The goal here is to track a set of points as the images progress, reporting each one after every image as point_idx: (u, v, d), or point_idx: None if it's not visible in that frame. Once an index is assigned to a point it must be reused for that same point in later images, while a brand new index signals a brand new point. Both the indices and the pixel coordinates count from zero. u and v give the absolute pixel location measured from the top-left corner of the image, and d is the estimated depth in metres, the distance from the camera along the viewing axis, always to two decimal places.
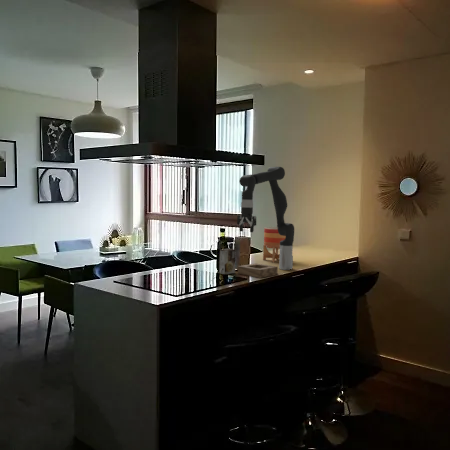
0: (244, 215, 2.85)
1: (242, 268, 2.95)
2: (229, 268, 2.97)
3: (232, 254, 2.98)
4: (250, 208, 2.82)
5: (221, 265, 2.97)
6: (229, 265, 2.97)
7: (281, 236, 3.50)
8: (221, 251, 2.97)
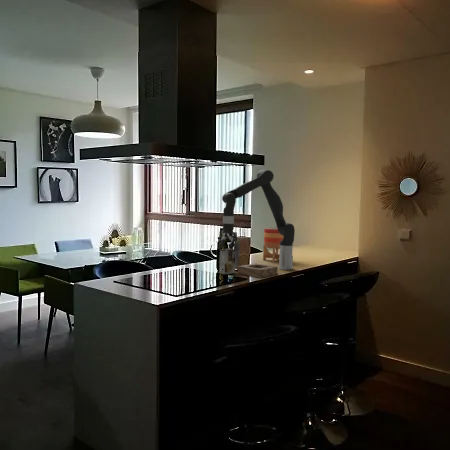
0: (225, 231, 2.98)
1: (242, 268, 2.95)
2: (229, 268, 2.97)
3: (232, 254, 2.98)
4: (231, 224, 2.95)
5: (221, 265, 2.97)
6: (229, 265, 2.97)
7: (281, 236, 3.50)
8: (221, 251, 2.97)
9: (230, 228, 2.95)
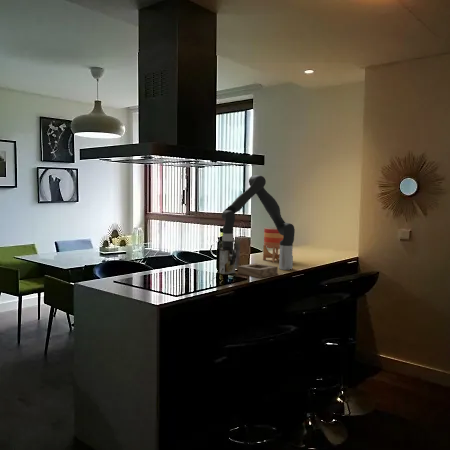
0: (225, 248, 2.99)
1: (242, 268, 2.95)
2: (229, 267, 2.97)
3: None
4: (230, 242, 2.96)
5: (221, 265, 2.97)
6: (229, 265, 2.97)
7: (281, 236, 3.50)
8: (221, 251, 2.97)
9: (230, 245, 2.95)
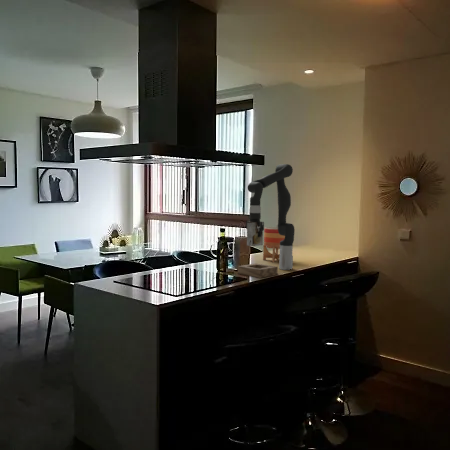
0: (252, 220, 2.97)
1: (242, 268, 2.95)
2: (257, 240, 2.95)
3: (259, 226, 2.95)
4: (258, 213, 2.93)
5: (249, 237, 2.95)
6: (257, 238, 2.95)
7: (281, 236, 3.50)
8: (248, 223, 2.95)
9: (257, 217, 2.93)
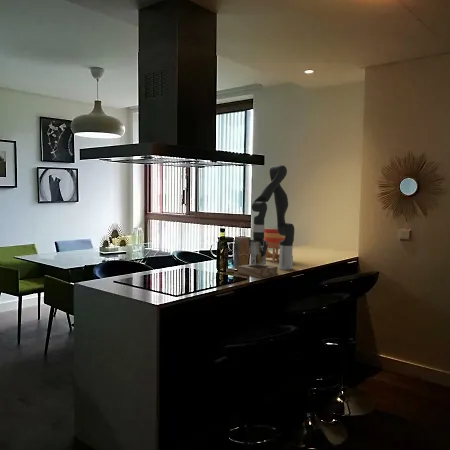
0: (256, 239, 2.97)
1: (242, 268, 2.95)
2: (260, 259, 2.95)
3: (263, 245, 2.96)
4: (262, 233, 2.94)
5: (252, 256, 2.95)
6: (260, 257, 2.95)
7: (281, 236, 3.50)
8: (252, 242, 2.95)
9: (261, 237, 2.94)
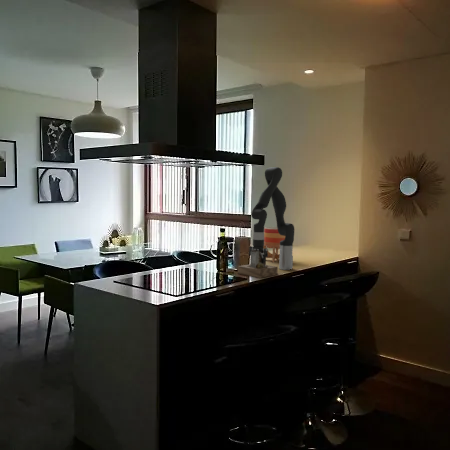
0: (256, 247, 2.97)
1: (242, 268, 2.95)
2: None
3: None
4: (262, 240, 2.94)
5: (252, 266, 2.96)
6: (260, 266, 2.96)
7: (281, 236, 3.50)
8: (252, 252, 2.96)
9: (261, 244, 2.94)
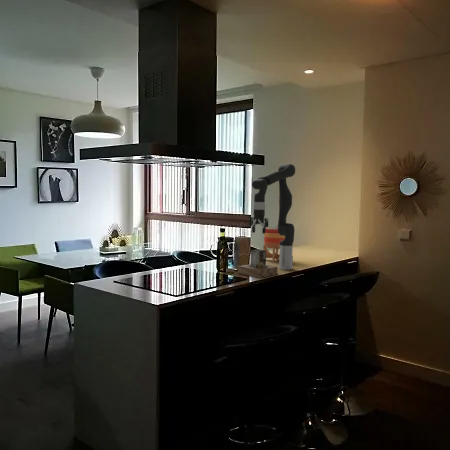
0: (256, 217, 2.96)
1: (242, 268, 2.95)
2: None
3: (262, 255, 2.96)
4: (262, 210, 2.93)
5: (252, 266, 2.96)
6: (260, 266, 2.96)
7: (281, 236, 3.50)
8: (252, 252, 2.96)
9: (261, 214, 2.93)
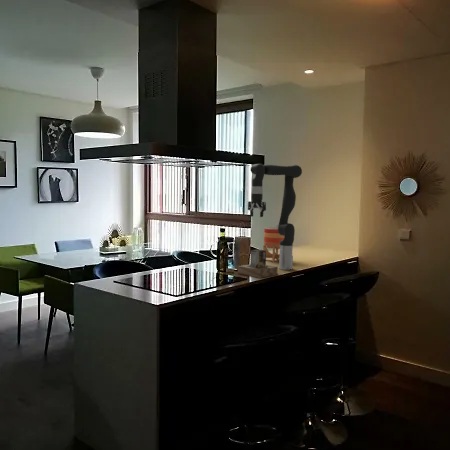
0: (254, 201, 3.04)
1: (242, 268, 2.95)
2: None
3: (262, 255, 2.96)
4: (260, 194, 3.01)
5: (252, 266, 2.96)
6: (260, 266, 2.96)
7: (281, 236, 3.50)
8: (252, 252, 2.96)
9: (259, 198, 3.01)
